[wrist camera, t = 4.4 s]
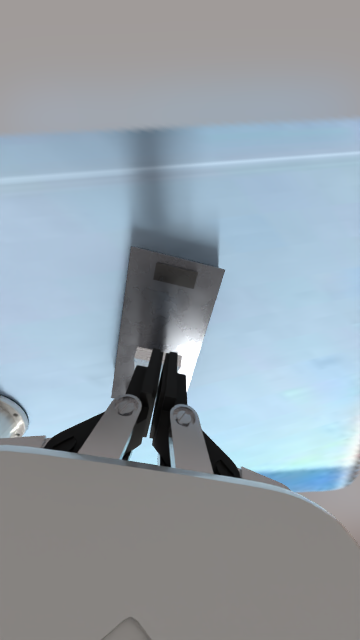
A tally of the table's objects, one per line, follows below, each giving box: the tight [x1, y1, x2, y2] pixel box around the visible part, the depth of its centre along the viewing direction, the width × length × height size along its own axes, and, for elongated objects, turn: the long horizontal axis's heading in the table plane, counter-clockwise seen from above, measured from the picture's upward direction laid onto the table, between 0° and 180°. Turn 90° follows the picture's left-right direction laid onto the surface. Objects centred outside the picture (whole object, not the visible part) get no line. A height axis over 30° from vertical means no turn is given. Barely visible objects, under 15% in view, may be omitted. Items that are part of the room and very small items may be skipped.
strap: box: [134, 347, 182, 401], centre depth 22 cm, size 18×4×1 cm
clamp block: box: [111, 246, 225, 405], centre depth 27 cm, size 24×12×6 cm, turn 167°
